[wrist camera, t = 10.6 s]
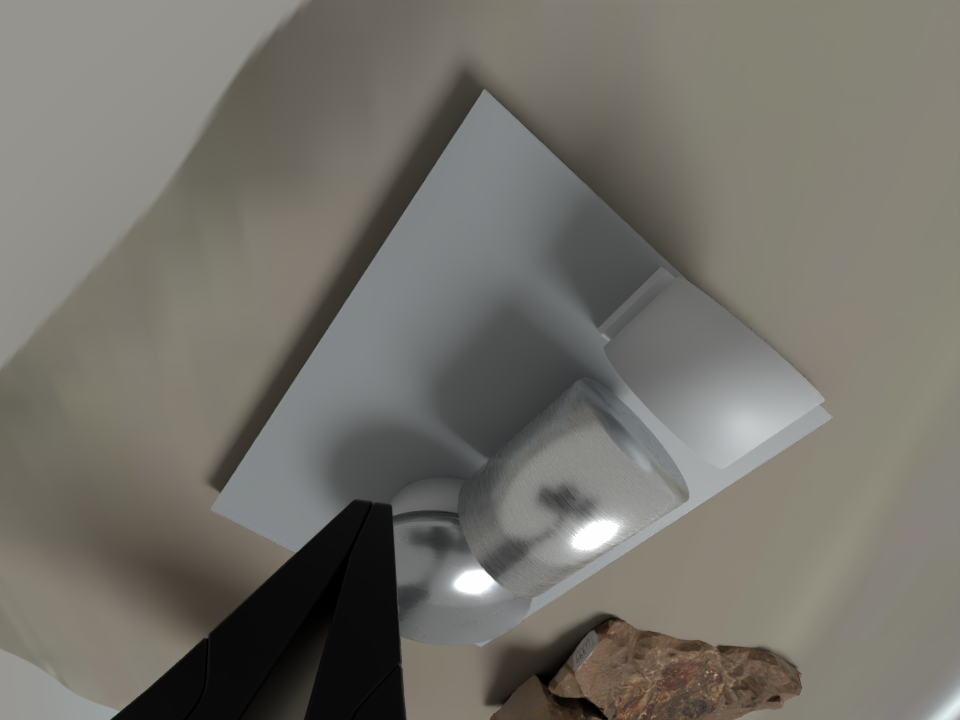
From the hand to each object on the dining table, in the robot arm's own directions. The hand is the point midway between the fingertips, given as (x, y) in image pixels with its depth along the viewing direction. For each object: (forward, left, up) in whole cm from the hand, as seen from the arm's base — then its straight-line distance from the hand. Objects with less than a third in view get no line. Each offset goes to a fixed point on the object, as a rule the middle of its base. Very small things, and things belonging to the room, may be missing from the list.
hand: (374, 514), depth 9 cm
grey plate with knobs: (-3, -5, -9) cm, 11 cm away
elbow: (-4, -6, -7) cm, 10 cm away
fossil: (-13, -28, -9) cm, 33 cm away
